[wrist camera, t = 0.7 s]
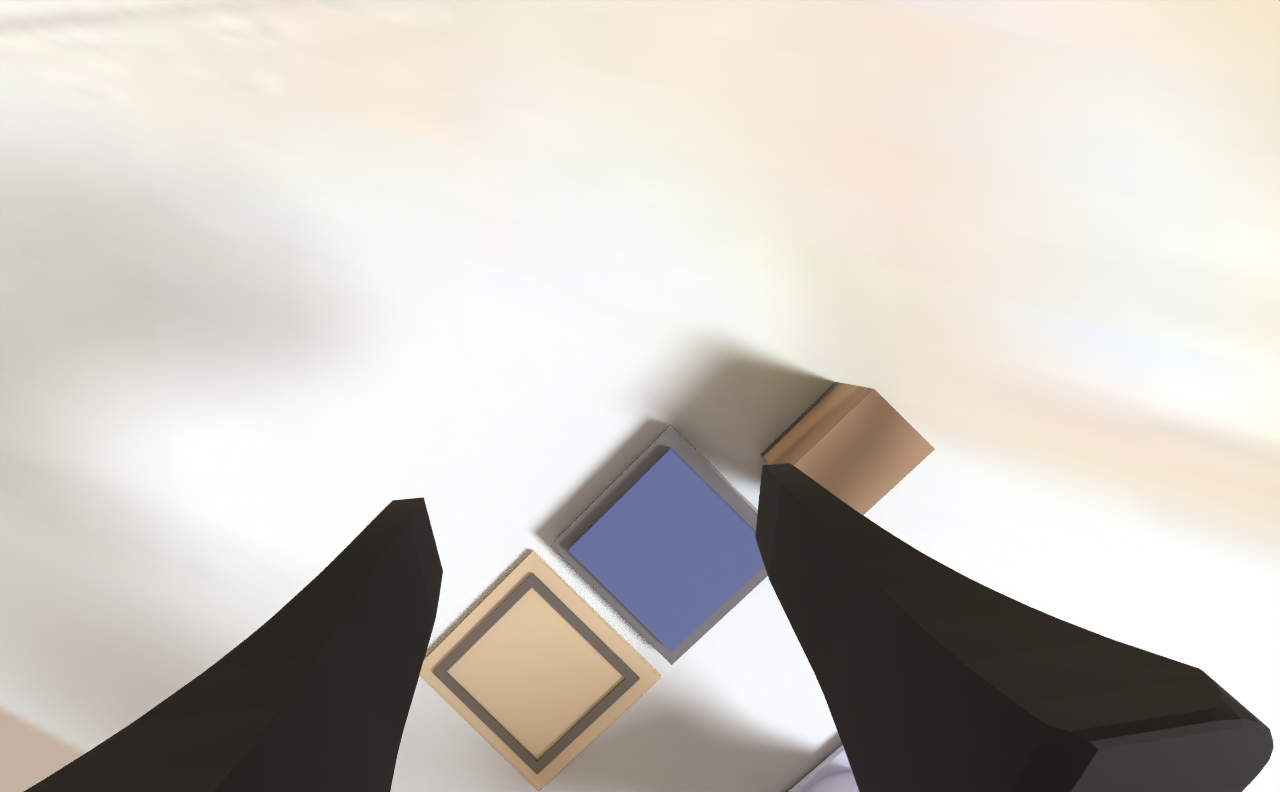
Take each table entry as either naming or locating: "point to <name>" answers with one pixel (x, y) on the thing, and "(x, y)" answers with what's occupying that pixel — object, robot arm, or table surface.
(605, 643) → the marked card
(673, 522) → the ink pad
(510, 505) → the table surface
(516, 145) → the table surface
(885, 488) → the brown rectangular block
